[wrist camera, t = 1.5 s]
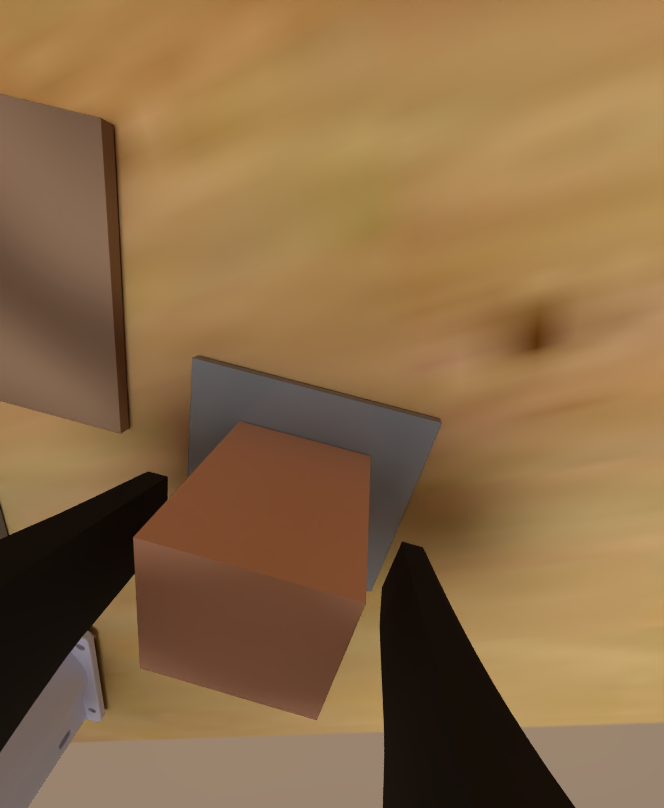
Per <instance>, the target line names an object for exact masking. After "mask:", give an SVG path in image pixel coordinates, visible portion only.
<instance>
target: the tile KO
mask: <svg viewBox="0 0 664 808" xmlns="http://www.w3.org/2000/svg"><path fill="white" fill-rule="evenodd" d="M239 421H241V422H245V423H248V424H252V425H256V426H260V427H263V428H267V429H271V430H275V431H278V432H282V433H286V434H290V435H293V436H297V437H301V438H305V439H308V440H312V441H316V442H320V443H323V444H327V445H331V446H335V447H338V448H342V449H346V450H350V451H353V452H357V453H361V454H365V455H368V456H371V463H370V493H369V524H368V554H367V585H366V590H367V591H371V590H372V588H373V586H374V583H375V581H376V578H377V576H378V574H379V571H380V569H381V567H382V564H383V562H384V559H385V557H386V555H387V552H388V550H389V547H390V545H391V543H392V540H393V538H394V536H395V533H396V531H397V528H398V526H399V524H400V521H401V519H402V517H403V514H404V512H405V509H406V507H407V505H408V502H409V500H410V498H411V495H412V493H413V490H414V488H415V486H416V483H417V481H418V478H419V476H420V474H421V471H422V469H423V467H424V464H425V462H426V459H427V457H428V455H429V452H430V450H431V448H432V445H433V443H434V440H435V438H436V436H437V433H438V431H439V429H440V426H441V424H442V423H441V420H440V419H438V418H434V417H430V416H427V415H423V414H419V413H415V412H411V411H407V410H404V409H400V408H396V407H392V406H388V405H385V404H381V403H377V402H373V401H369V400H365V399H362V398H358V397H354V396H350V395H346V394H342V393H339V392H335V391H331V390H327V389H323V388H319V387H316V386H312V385H308V384H304V383H300V382H296V381H293V380H289V379H285V378H281V377H277V376H274V375H270V374H266V373H262V372H258V371H254V370H251V369H247V368H243V367H239V366H235V365H231V364H228V363H224V362H220V361H216V360H212V359H208V358H205V357H201V356H196V357H193V358H192V382H191V406H190V430H189V455H188V477H189V476H190V475H191V474H192V473H193V472H194V470H195V469H196V468H197V467H198V466H199V465H200V464H201V463H202V462H203V461H204V460H205V458H206V457H207V456H208V455H209V454H210V453H211V452H212V451H213V450H214V449H215V448H216V446H217V445H218V444H219V443H220V442H221V441H222V440H223V439H224V438H225V437H226V436H227V434H228V433H229V432H230V431H231V430H232V429H233V428H234V427H235V426H236V425H237V424H238V422H239Z"/></svg>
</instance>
